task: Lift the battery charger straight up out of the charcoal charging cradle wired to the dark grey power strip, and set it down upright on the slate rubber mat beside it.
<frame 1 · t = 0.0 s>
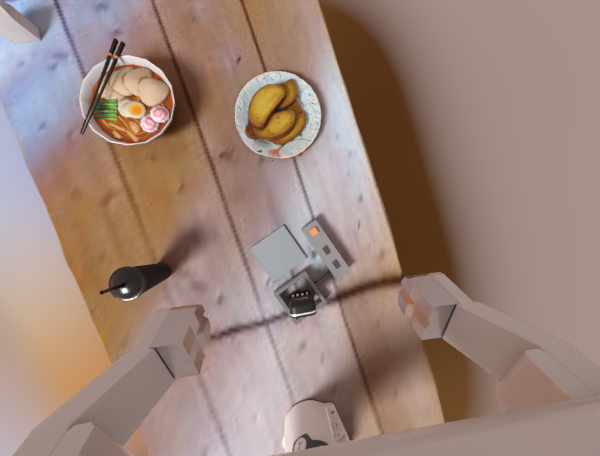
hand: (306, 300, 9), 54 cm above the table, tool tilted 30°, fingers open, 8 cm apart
slate mat: (278, 253, 63), on the table
ramen bowl: (147, 115, 60), on the table
food on plate: (278, 119, 63), on the table
drinking cup: (162, 271, 60), on the table
white milk carton: (27, 36, 58), on the table
battery charger: (299, 295, 63), resting in charging station
charging station: (300, 295, 63), on the table
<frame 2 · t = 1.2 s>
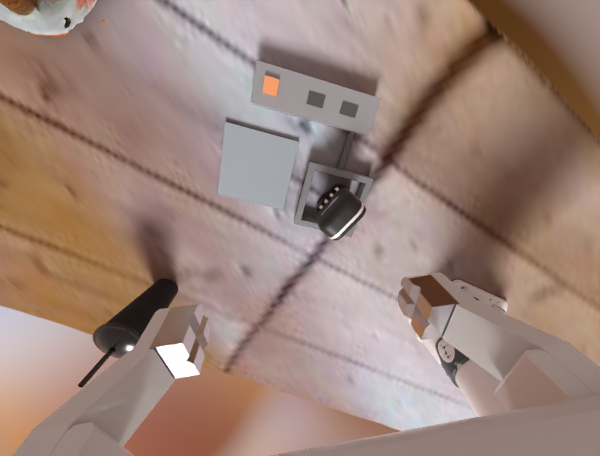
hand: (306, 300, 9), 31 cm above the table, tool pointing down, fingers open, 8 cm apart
slate mat: (257, 168, 37), on the table
drinking cup: (167, 287, 46), on the table
battery charger: (330, 198, 39), resting in charging station
charging station: (330, 198, 39), on the table
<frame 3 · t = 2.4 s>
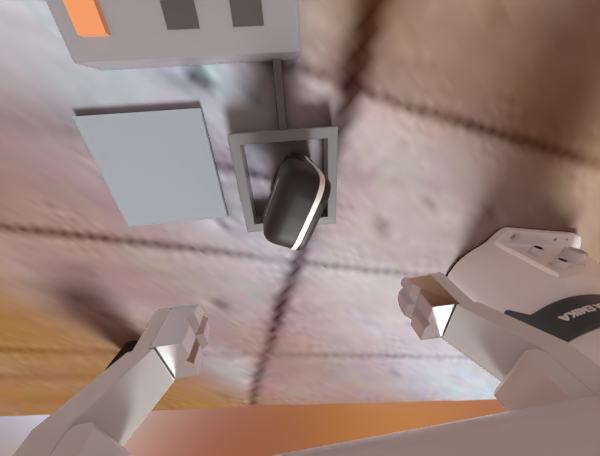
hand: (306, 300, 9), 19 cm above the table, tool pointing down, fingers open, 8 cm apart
slate mat: (163, 172, 24), on the table
battery charger: (287, 178, 26), resting in charging station
charging station: (287, 178, 26), on the table
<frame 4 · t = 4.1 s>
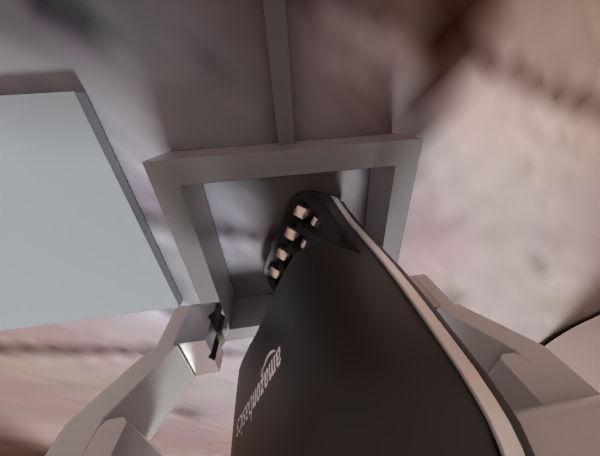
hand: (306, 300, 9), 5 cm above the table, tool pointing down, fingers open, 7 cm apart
slate mat: (27, 234, 11), on the table
battery charger: (293, 235, 13), resting in charging station
charging station: (294, 236, 13), on the table
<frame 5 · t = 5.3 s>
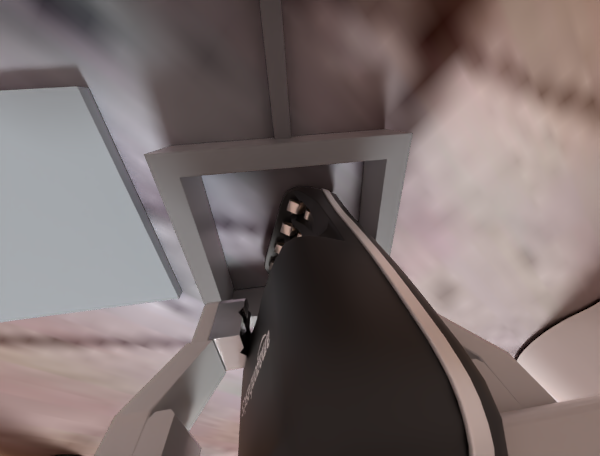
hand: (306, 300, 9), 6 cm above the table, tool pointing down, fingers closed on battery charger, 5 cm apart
slate mat: (30, 226, 11), on the table
battery charger: (290, 230, 14), resting in charging station, touching gripper
charging station: (290, 230, 13), on the table
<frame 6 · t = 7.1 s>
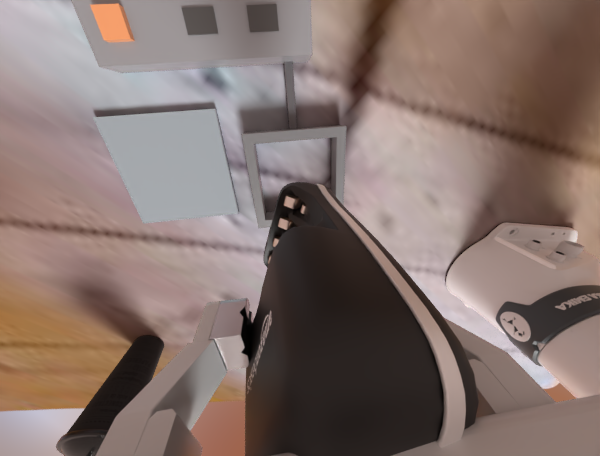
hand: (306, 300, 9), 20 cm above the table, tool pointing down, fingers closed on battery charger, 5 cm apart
slate mat: (177, 170, 25), on the table
drinking cup: (150, 342, 38), on the table
battery charger: (288, 225, 14), point 14 cm above the table, touching gripper
charging station: (296, 176, 27), on the table
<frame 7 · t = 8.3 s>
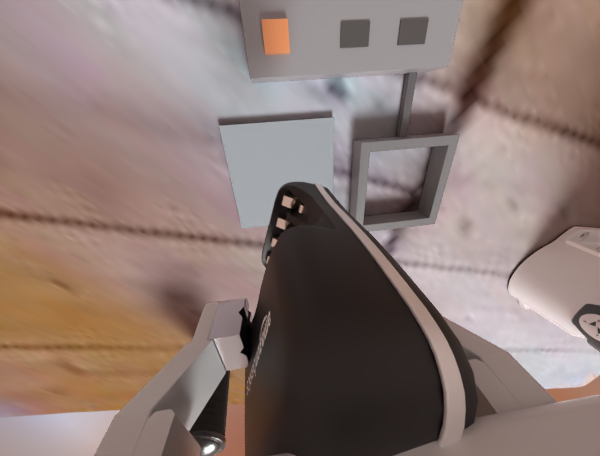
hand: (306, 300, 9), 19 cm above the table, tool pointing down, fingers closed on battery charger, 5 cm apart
slate mat: (283, 177, 25), on the table
drinking cup: (218, 344, 39), on the table
battery charger: (286, 224, 14), point 13 cm above the table, touching gripper
charging station: (392, 182, 27), on the table
when the fingers open (7 cm above the table, at t = 11.2 s): battery charger moves 2 cm, resting on slate mat.
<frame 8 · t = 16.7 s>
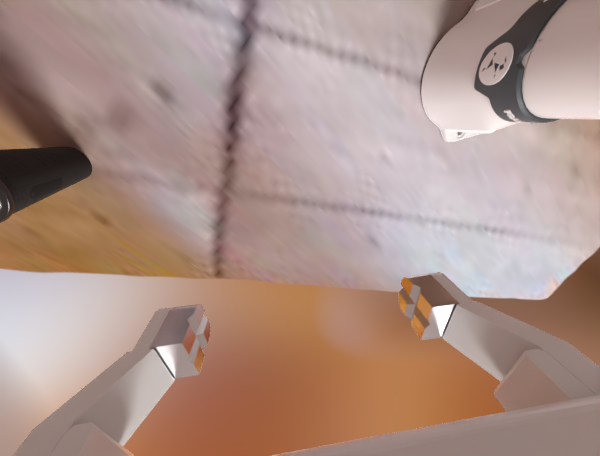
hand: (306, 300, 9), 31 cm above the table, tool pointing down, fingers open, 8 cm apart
drinking cup: (74, 162, 33), on the table
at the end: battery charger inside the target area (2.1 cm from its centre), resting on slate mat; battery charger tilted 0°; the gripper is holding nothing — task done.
